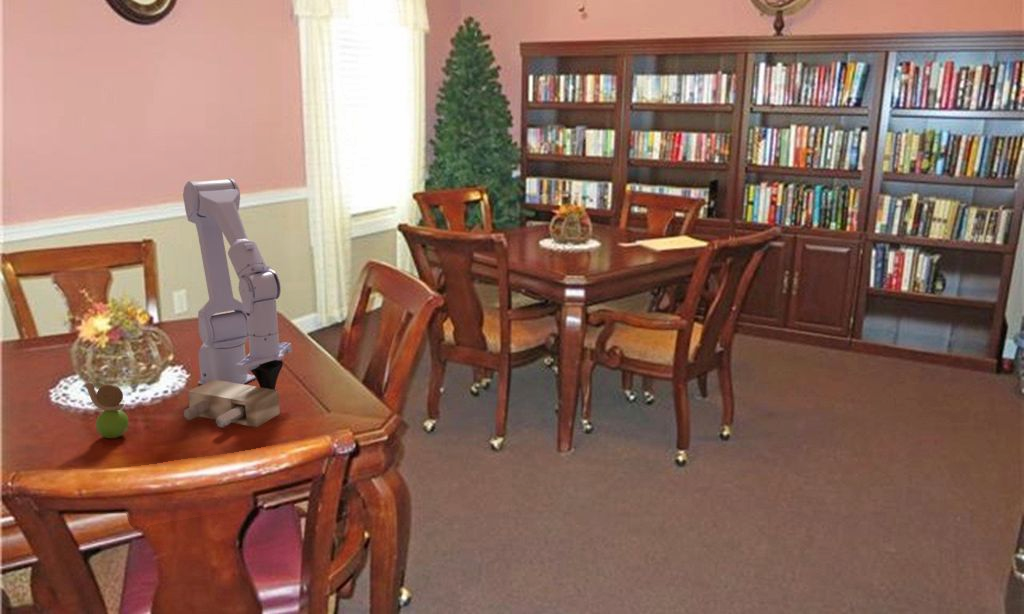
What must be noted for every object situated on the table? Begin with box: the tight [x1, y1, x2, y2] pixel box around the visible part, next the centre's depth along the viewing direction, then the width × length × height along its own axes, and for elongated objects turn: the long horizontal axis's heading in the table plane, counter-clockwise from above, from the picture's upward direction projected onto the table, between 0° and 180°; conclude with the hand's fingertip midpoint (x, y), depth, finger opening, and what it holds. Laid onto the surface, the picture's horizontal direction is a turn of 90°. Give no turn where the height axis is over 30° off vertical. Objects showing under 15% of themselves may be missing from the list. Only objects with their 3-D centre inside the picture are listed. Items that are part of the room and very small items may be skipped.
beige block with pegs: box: [183, 379, 281, 428], centre depth 152 cm, size 16×12×5 cm
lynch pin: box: [215, 405, 246, 429], centre depth 150 cm, size 4×13×4 cm, turn 159°
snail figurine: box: [83, 375, 130, 439], centre depth 142 cm, size 5×6×12 cm
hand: (268, 396), depth 157 cm, fingers closed
